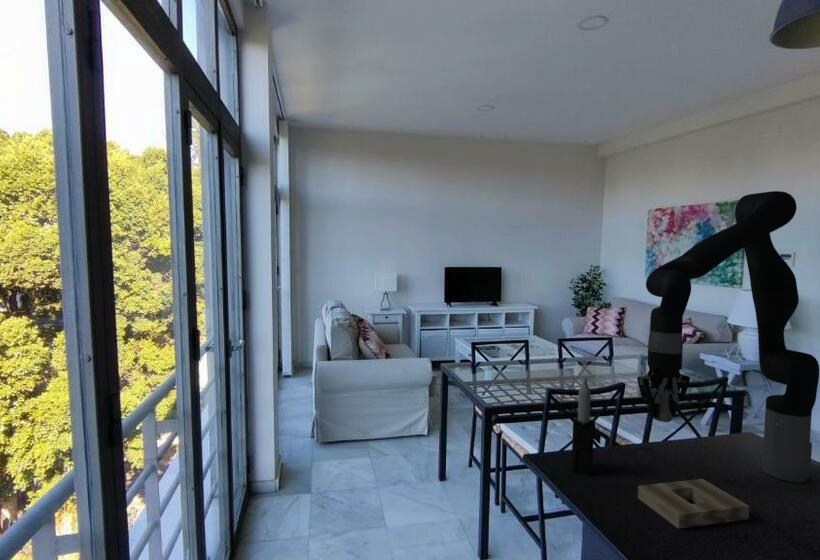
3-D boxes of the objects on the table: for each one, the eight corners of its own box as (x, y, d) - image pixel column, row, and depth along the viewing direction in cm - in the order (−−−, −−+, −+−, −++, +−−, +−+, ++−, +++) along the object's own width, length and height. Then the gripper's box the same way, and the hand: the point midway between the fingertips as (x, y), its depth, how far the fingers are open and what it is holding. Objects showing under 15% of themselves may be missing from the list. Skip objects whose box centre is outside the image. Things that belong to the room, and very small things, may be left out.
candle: (592, 467, 120) (596, 376, 118) (591, 476, 115) (595, 381, 114) (572, 463, 122) (575, 374, 120) (570, 471, 117) (574, 378, 116)
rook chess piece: (675, 423, 109) (676, 391, 109) (655, 421, 110) (656, 390, 110) (668, 416, 114) (669, 386, 113) (649, 415, 115) (650, 385, 114)
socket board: (701, 490, 108) (702, 478, 108) (748, 519, 97) (749, 506, 97) (637, 497, 105) (638, 485, 105) (678, 528, 93) (679, 514, 93)
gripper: (677, 345, 116) (674, 409, 117) (629, 347, 113) (627, 412, 114) (701, 351, 109) (698, 419, 110) (651, 353, 106) (648, 423, 107)
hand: (662, 415), depth 112 cm, fingers closed on rook chess piece, 4 cm apart
